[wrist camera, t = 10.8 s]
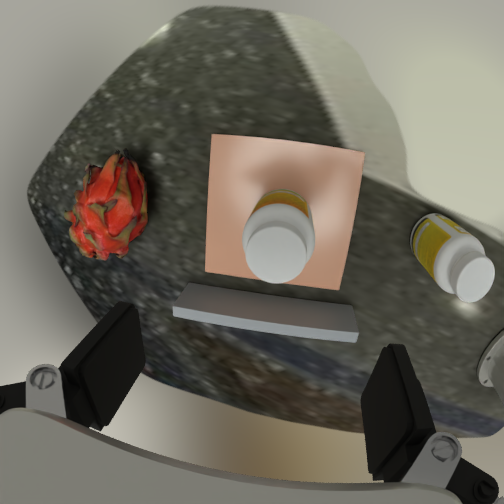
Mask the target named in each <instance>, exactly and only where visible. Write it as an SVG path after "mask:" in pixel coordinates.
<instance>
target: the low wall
mask: <svg viewBox="0 0 504 504" xmlns="http://www.w3.org/2000/svg"><path fill="white" fill-rule="evenodd" d="M173 316H176V317H181V318H186V319H191V320H196V321H201V322H207V323H212V324H218V325H224V326H230V327H236V328H242V329H248V330H255V331H261V332H268V333H275V334H282V335H290V336H298V337H306V338H315V339H324V340H333V341H344V342H354V343H356V340H357V337H358V335H359V331H358V327H357V323H356V319H355V315H354V311H353V307H352V305H345V304H336V303H328V302H320V301H312V300H304V299H297V298H289V297H282V296H275V295H267V294H260V293H254V292H247V291H240V290H234V289H227V288H221V287H214V286H208V285H202V284H196V283H190V282H189V283H188V284H187V286H186V287H185V289H184V290H183V292H182V293H181V295H180V296H179V298H178V299H177V300H176V302H175V303H174V305H173Z"/></svg>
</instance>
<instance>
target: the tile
mask: <svg viewBox="0 0 504 504" xmlns="http://www.w3.org/2000/svg"><path fill="white" fill-rule="evenodd" d="M364 157H365V152H360V151H355V150H349V149H343V148H337V147H331V146H325V145H318V144H311V143H304V142H297V141H289V140H280V139H271V138H261V137H250V136H237V135H222V134H212V140H211V154H210V170H209V187H208V207H207V231H206V262H205V272H211V273H217V274H224V275H231V276H237V277H244V278H251V279H258V280H261V279H260V278H258V277H257V276H256V275H255V274H253V272H252V271H251V270H250V268H249V267H248V264H247V261H246V256H245V252H244V249H243V245H242V234H243V230H244V227H245V224H246V222H247V220H248V218H249V217H250V215H251V213H252V211H253V209H254V208H255V206H256V204H257V202H258V201H259V200H260V198H261V197H262V196H264V195H265V194H266V193H268V192H270V191H273V190H276V189H288V190H292V191H294V192H296V193H298V194H299V195H301V196H302V197H303V198H304V199H305V200H306V202H307V203H308V205H309V207H310V210H311V214H312V220H313V225H314V231H315V247H314V251H313V254H312V256H311V258H310V259H309V261H308V262H307V263H306V264H305V267H304V269H303V270H302V272H301V273H300V274H299V275H298V276H297V277H295V278H294V279H292V280H290V281H288V282H284V283H287V284H294V285H302V286H309V287H317V288H325V289H333V290H339V287H340V283H341V279H342V275H343V270H344V266H345V262H346V257H347V253H348V248H349V243H350V238H351V233H352V228H353V223H354V218H355V213H356V207H357V202H358V196H359V190H360V184H361V177H362V171H363V164H364Z"/></svg>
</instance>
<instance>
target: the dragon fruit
mask: <svg viewBox="0 0 504 504" xmlns="http://www.w3.org/2000/svg"><path fill="white" fill-rule="evenodd" d="M123 151H124V153H125V155H126V157H127V158H126V157H123V155H122V154H119V153H120V151H119V150H118V151H117V150H116V152H115V154H113V155H111V156H110V157H109V158H108V160H107V161H106V163H105V165H104V167H103V168H100V167H97V166H95V165H92V166H91V165H90V163H89V164H88V165H87V166H86V168H85V172H86V171H87V174H86V175H85V176H84V178H83V186H84V191H81V190H76V191H75V193H74V196H75V198H76V201H77V203H76V204H75V205H74V206H73V210H71V211H66V210H65V212H64V216H65V219H67V220H69V221H71V222H73V223H72V224H73V225H72V226H71V227H70V229H69V234H70V238H71V240H72V241H73V242H74V243H75V245H76V246H77V247H78V248H79V251H80V253H81V254H82V255H85V256H86V257H90V258H91V257H94V258H95V259H99V258H100V259H102V260H107V259H108V257H109V253H116V256H117V257H119V258H123V257H124V256H125V255H127V253H128V250H129V248H128V244H129V242H130V241H132V240H133V239H134V238H135V237H137V236H139V235H141V233H142V232H143V231H144V229H145V227H146V224H147V222H148V216H147V182H145V179H144V176H145V175H144V174H143V173H142V171H141V173H140V171H139V168H138V165H137V162H136V161H135V159H134V158H133V157H132V156H131V155H129V153H128V150H127V149H126V148H125V149H124V150H123ZM122 157H123V158H122ZM90 170H91V180H90V184H88V181H89V179H90ZM94 255H96V256H94Z"/></svg>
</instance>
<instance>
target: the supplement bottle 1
mask: <svg viewBox="0 0 504 504" xmlns="http://www.w3.org/2000/svg"><path fill="white" fill-rule="evenodd" d="M242 245H243V249H244V252H245V256H246V261H247V264H248V267H249V268H250V270H251V271H252V272H253V274H255V275H256V276H257V277H258V278H260V279H261V280H264V281H266V282H269V283H284V282H288V281H290V280H292V279H294V278H295V277H297V276H298V275H299V274H300V273H301V272H302V270H303V269H304V267H305V264H306V263H307V262H308V261H309V259H310V258H311V256H312V254H313V251H314V247H315V231H314V225H313V220H312V214H311V210H310V207H309V205H308V203H307V202H306V200H305V199H304V198H303V197H302V196H301V195H299V194H298V193H296V192H294V191H292V190H288V189H276V190H273V191H270V192H268V193H266V194H265V195H264V196H262V197H261V198H260V200H259V201H258V202H257V204H256V206H255V208H254V209H253V211H252V213H251V215H250V217H249V218H248V220H247V222H246V224H245V227H244V230H243V234H242Z"/></svg>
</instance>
